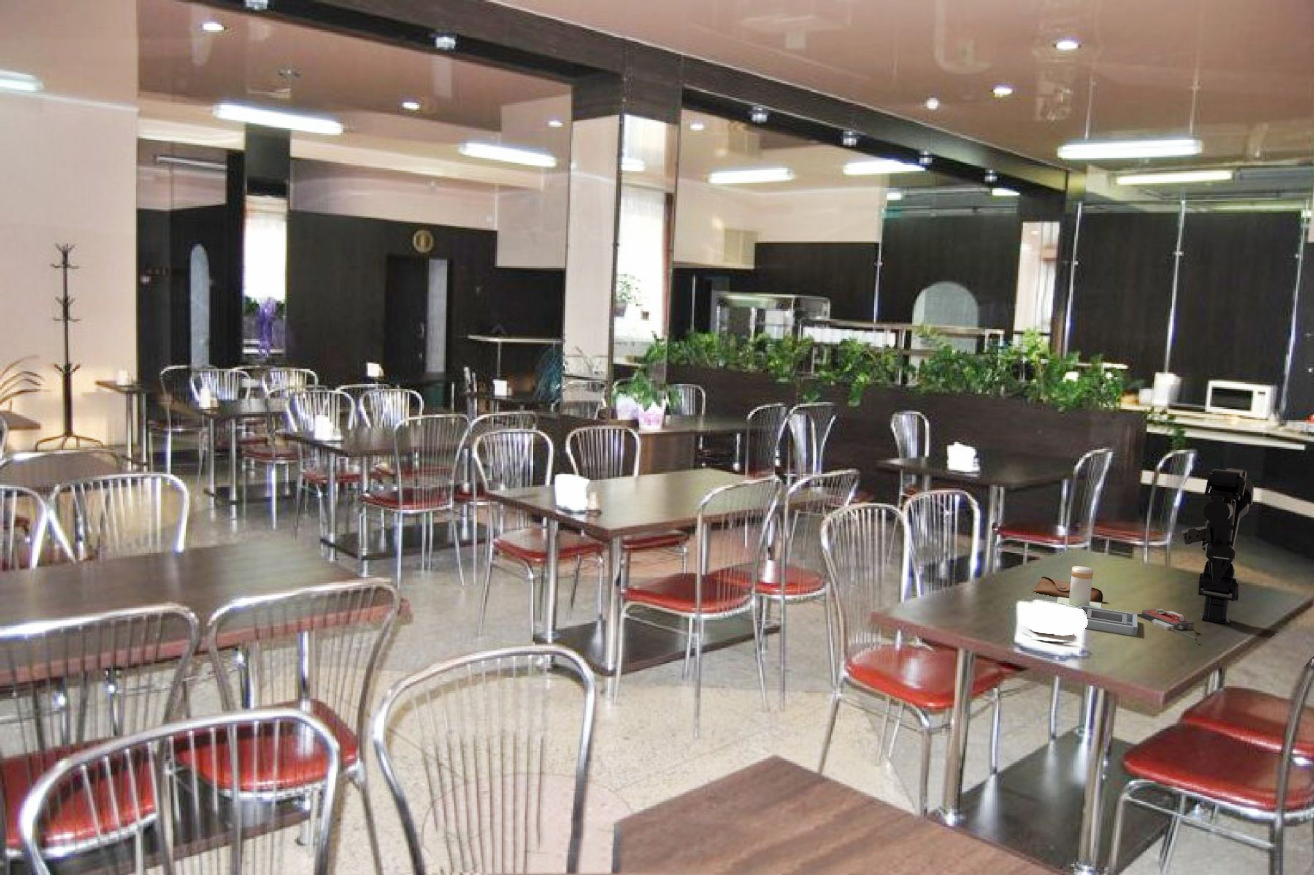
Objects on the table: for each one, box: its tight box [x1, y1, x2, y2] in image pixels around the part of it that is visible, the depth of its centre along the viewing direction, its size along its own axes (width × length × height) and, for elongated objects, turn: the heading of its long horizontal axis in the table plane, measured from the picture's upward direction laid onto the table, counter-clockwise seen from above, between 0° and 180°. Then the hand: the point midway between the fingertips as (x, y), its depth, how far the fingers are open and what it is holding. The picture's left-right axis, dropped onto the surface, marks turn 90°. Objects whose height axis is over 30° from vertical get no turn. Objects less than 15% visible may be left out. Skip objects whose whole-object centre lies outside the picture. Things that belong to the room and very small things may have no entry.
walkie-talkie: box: [1136, 608, 1198, 642], centre depth 254 cm, size 9×4×20 cm
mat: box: [1056, 597, 1103, 608], centre depth 270 cm, size 11×11×1 cm
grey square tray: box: [1078, 605, 1138, 637], centre depth 254 cm, size 14×14×3 cm
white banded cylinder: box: [1069, 565, 1094, 607], centre depth 270 cm, size 5×5×10 cm
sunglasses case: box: [1032, 576, 1104, 603], centre depth 282 cm, size 18×7×7 cm, turn 45°
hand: (1213, 579), depth 255 cm, fingers open, 9 cm apart
